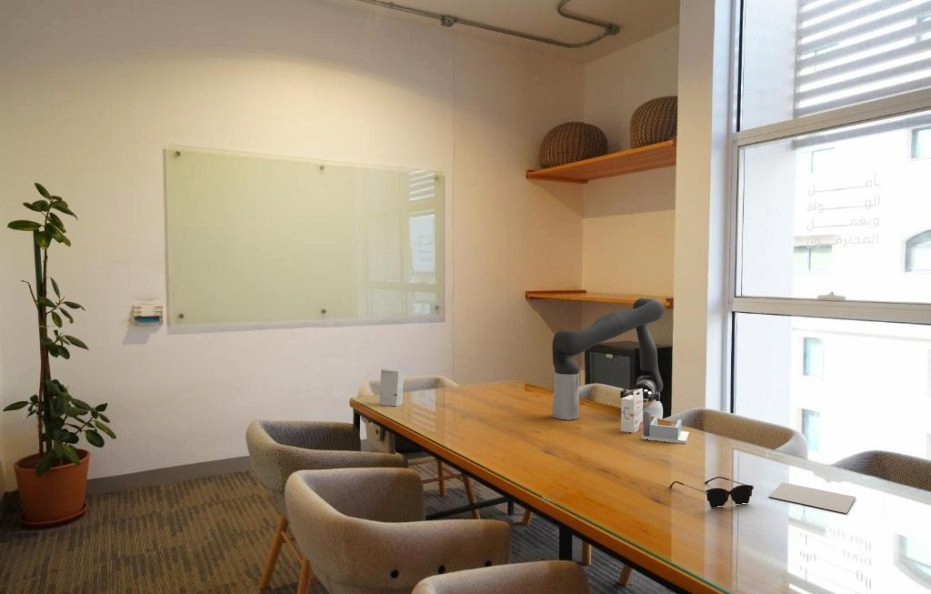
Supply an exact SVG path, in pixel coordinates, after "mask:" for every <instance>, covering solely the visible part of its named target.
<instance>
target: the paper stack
mask: <svg viewBox="0 0 931 594" xmlns="http://www.w3.org/2000/svg"><path fill="white" fill-rule="evenodd" d="M768 497H770V498H775V499H779V500H783V501H787V502H793V503H797V504H802V505H807V506H812V507H816V508H821V509H824V510H825V509H826V510H830V511H835V512H840V513H844V514H847V513H848V511H849V510H850V508H851V506H852V505H853V503H854V501H855V500H856V496H853V495H847V494H845V493H844V494H843V493H838V492H833V491H828V490H822V489H818V488H814V487H808V486H803V485H798V484H793V483H789V482H781V483H780V484H779V485H777V487H776V488H775V489H774V490H773V491H772V492H771V493H770V494H769V495H768Z"/></svg>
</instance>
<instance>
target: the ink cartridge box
mask: <svg viewBox="0 0 931 594" xmlns="http://www.w3.org/2000/svg"><path fill="white" fill-rule="evenodd" d="M637 393H639V395H637ZM620 406H621V408H620V413H621V415H620V416H621V417H620V426H621V427H620V428H621V429H620V432H623V431H625V432H624V433H629V432H631V434H635V433H637V432H639V431H641V430H643V416H644V403H643V390H642V388H641V389H638V390H636V391H633V395H630V396H629V395H628V396H627V397H624V398H620Z"/></svg>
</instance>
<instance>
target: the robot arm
mask: <svg viewBox="0 0 931 594" xmlns="http://www.w3.org/2000/svg"><path fill="white" fill-rule="evenodd" d="M664 311H665V307H664V305H663V303H662V302H661V301H660V300H657V299H654V298H644V297H643V298H641V297H640V298H638V299H636V300H635V301H634V303H633V306H632V309H628V310H627V309H626V310H620V311H615V312H611V313H609V314H606V315H603V316H601V317H599V318H598V319H597V320H596V321H594V322H593V324H592V325H591V326H589V327H587V328H584V329H581V330H578V331H571V330H570V331H569V330H559V331H557V332H556V333H555V334H554V336H553V339H552V342H551V343H552V348H551V350H552V351H551V352H552V365H553V367H554V392H553V393H552V418H553V417H554V419H558V420H564V419H565V420H566V421H567V420H568V421H570V420H571V421H573V420H577V418H578V419H579V413H580V412H579V404H580V401H579V400H580V366H579V365H578V364H577V363H576V362H575V360H574V357H575V356H578V355H579V354H582V353H584V352H586V351H587V350H589V349H590V348H592V347H594V346H596V345H598V344H601V343H604V342H606V341H608V340H611V339H614V338H616V337H618V336H620V335H622V334H626V333H627V332H629V331H632V330H634V329H635V330H636V335H637V340H638V347H639V362H640V363H639V365H640V366H639V367H640V370H641V371H644V372H648V373H650V374H651V375H640V376H638V377H637V379H636V384H635V386H634V387H633V388H632V389H630V390H627V389H626V388H623V389H622V390H620V392H619V393H620V394H619V398H620V399H621V398H624V397H627V396H630V395H633V391H636V390H638V389H641V388H642V390H643V404H644V403H647V402H648V403H651V402H660V399H661V392H662V391H663V388H664V383H663V379H662V376H661V374H660V371H659V365H658V349H657V346H656V343H655V342H654V339H653V337H652V335H651V332H650V328H649V324H650V323H651V324H652V323H654V322H657V321H658V320H660V319H661V318H662V316H663V315H664ZM637 395H639V393H637ZM572 419H573V420H572Z"/></svg>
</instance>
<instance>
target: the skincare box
mask: <svg viewBox="0 0 931 594" xmlns="http://www.w3.org/2000/svg"><path fill="white" fill-rule="evenodd" d="M380 372H381V373H380V386H379V387H380V389H379V406H390V407H391V406H392V407H398V406H401V405H403V399H404V398H403V397H404V396H403V394H404V379H405V378H404V376H405V374H404V373H405V369H399V368H391V367H389V368H388V367H386V368H381V369H380Z"/></svg>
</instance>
